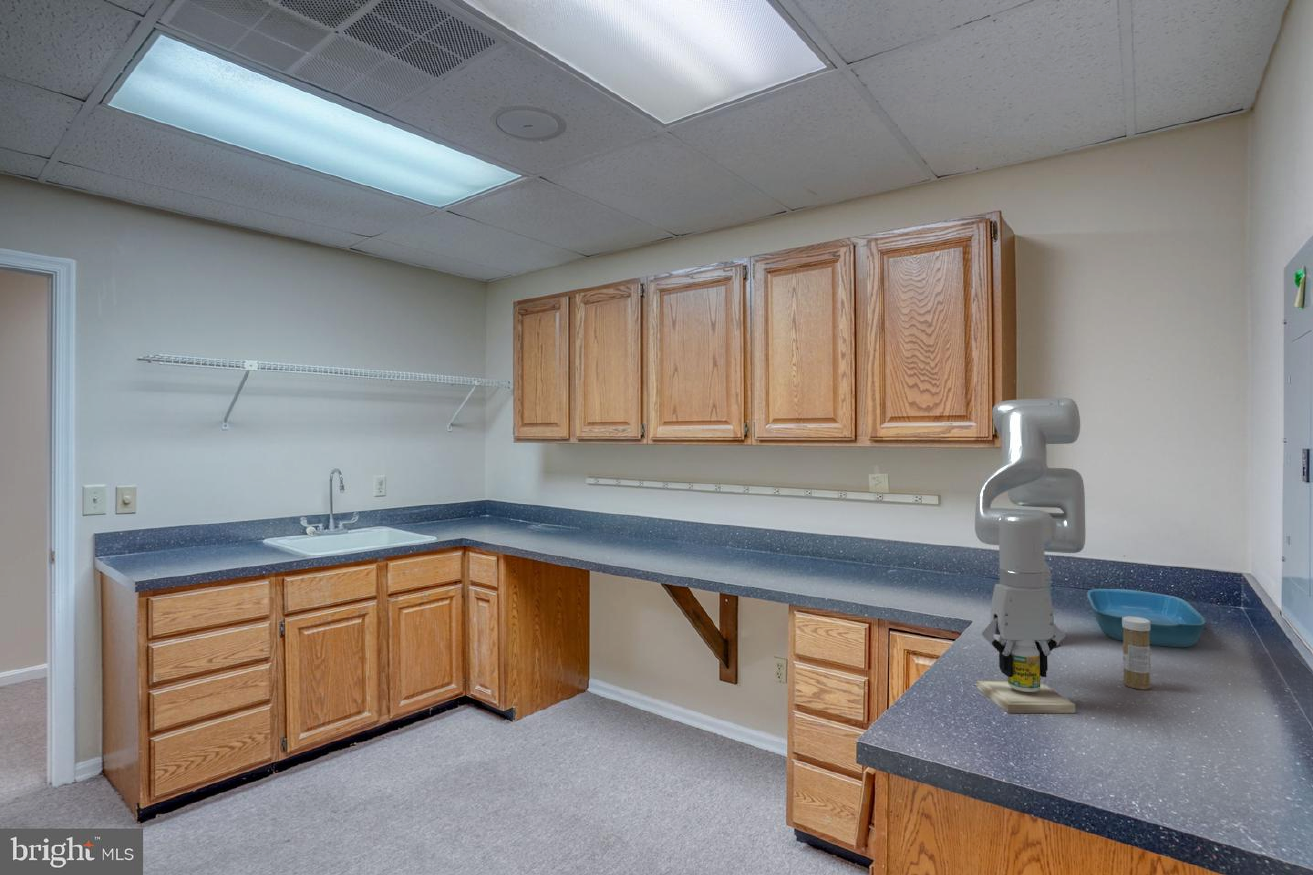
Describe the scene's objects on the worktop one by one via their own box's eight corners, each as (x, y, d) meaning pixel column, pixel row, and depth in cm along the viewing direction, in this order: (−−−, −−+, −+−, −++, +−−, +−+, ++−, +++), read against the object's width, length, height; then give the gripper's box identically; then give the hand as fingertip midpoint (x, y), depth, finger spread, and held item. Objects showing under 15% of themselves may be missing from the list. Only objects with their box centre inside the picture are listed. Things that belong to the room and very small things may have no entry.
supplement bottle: (1037, 683, 125) (1036, 633, 125) (1042, 694, 120) (1042, 641, 120) (1005, 680, 127) (1004, 630, 127) (1009, 690, 122) (1008, 638, 122)
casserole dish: (1217, 658, 146) (1216, 626, 146) (1098, 644, 157) (1097, 614, 157) (1180, 618, 179) (1179, 592, 179) (1083, 609, 189) (1083, 585, 189)
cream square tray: (976, 687, 129) (976, 679, 129) (1038, 687, 129) (1037, 679, 129) (1007, 712, 117) (1007, 703, 117) (1075, 712, 117) (1075, 703, 117)
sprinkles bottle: (1124, 680, 133) (1123, 614, 133) (1152, 685, 130) (1151, 618, 130) (1121, 686, 129) (1120, 618, 130) (1149, 692, 126) (1148, 623, 126)
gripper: (1056, 574, 127) (1057, 667, 127) (967, 575, 128) (968, 667, 127) (1080, 583, 120) (1081, 681, 119) (985, 583, 120) (987, 682, 120)
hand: (1023, 673), depth 123 cm, fingers closed on supplement bottle, 5 cm apart
